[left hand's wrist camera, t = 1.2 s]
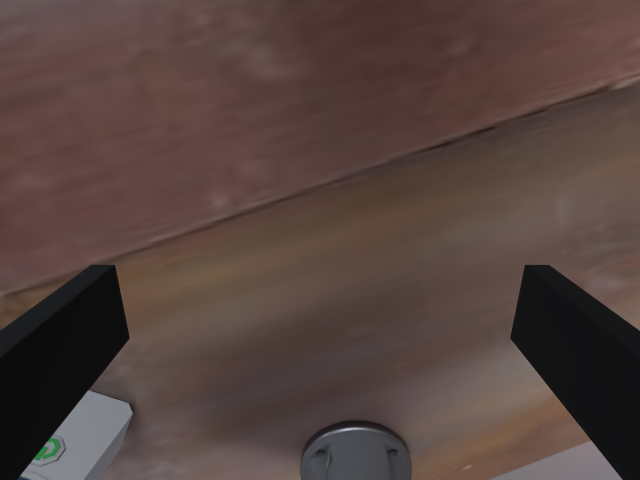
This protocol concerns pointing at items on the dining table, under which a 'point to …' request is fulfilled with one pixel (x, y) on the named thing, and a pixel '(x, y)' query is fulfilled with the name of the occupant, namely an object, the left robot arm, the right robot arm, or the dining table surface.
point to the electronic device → (83, 441)
